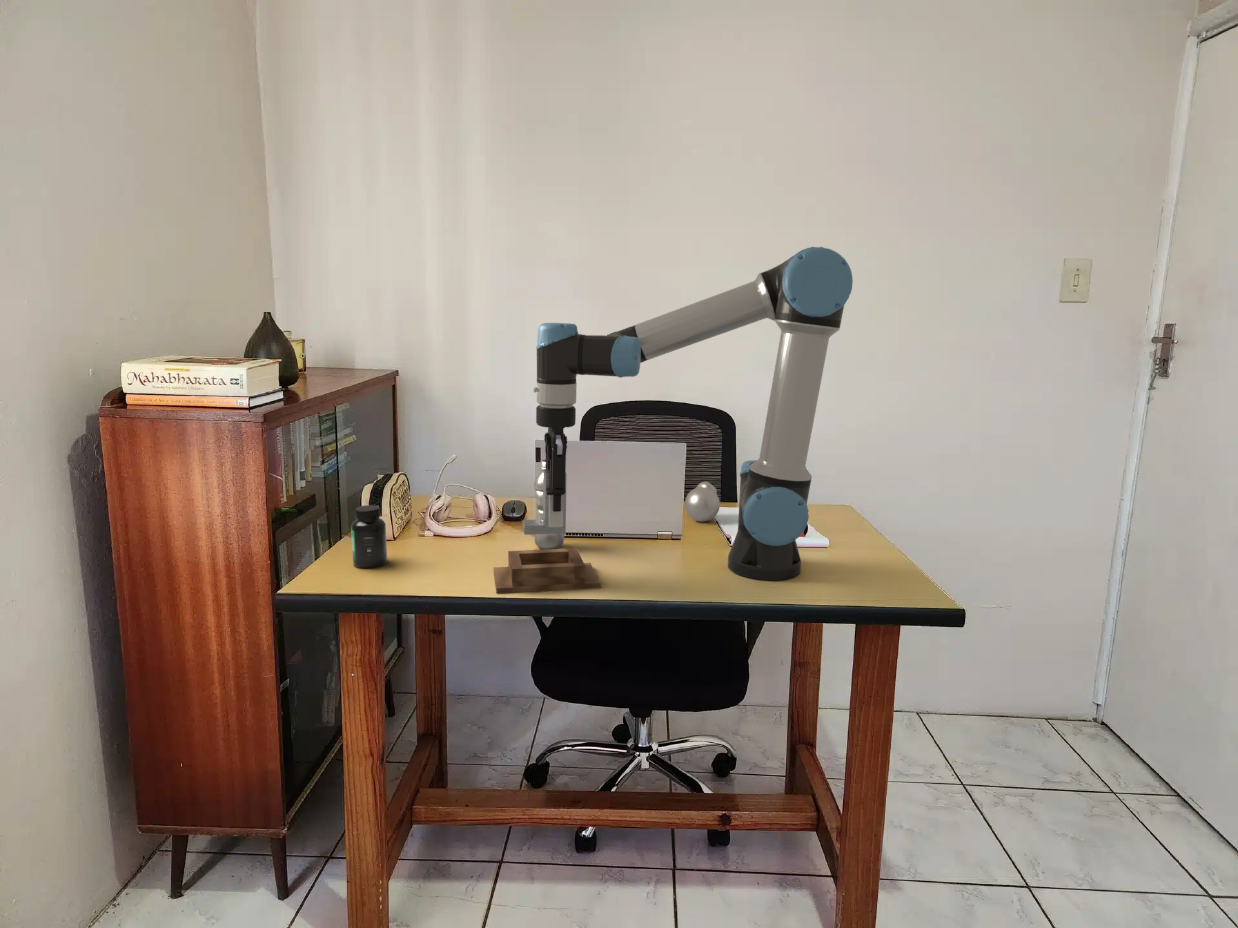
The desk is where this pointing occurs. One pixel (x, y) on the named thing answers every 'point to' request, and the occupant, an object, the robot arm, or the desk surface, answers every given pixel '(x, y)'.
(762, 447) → the robot arm
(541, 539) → the plastic bottle
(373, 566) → the supplement bottle
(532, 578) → the well
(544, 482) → the bracket
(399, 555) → the desk surface
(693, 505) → the silver pear shape
